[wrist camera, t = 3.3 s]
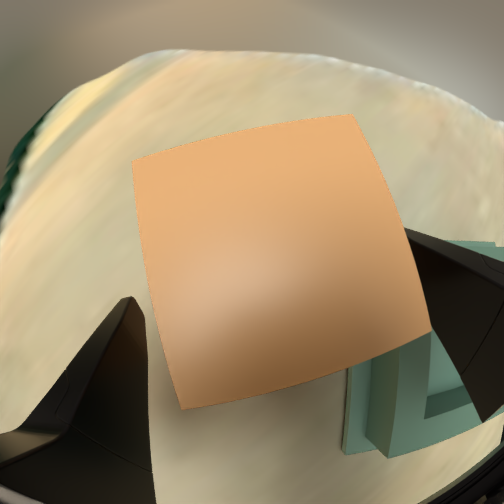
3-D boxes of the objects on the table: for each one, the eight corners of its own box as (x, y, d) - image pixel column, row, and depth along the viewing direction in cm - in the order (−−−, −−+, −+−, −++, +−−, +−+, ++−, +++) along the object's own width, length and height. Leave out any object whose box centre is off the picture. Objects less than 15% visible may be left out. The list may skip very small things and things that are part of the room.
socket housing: (486, 406, 14) (519, 415, 10) (341, 450, 14) (363, 480, 10) (489, 244, 17) (522, 231, 13) (345, 241, 17) (371, 220, 13)
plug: (312, 320, 16) (431, 330, 5) (230, 343, 16) (181, 410, 4) (289, 241, 17) (352, 114, 6) (209, 262, 17) (131, 160, 5)
